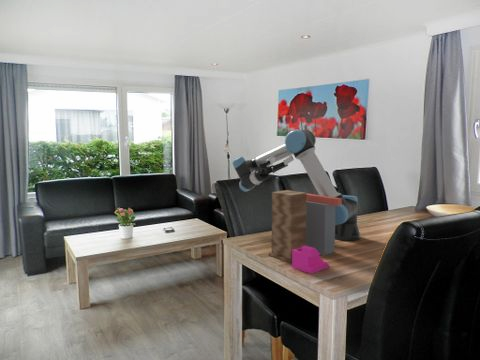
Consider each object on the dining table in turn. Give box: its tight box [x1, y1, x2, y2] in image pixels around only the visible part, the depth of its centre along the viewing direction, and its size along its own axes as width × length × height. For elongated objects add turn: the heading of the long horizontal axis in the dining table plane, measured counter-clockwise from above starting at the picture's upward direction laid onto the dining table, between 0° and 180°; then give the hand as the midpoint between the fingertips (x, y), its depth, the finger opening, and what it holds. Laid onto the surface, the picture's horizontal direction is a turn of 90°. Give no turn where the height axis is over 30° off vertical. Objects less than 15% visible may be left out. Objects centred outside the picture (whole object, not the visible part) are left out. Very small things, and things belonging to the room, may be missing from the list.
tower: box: [268, 189, 308, 264], centre depth 180 cm, size 14×12×30 cm
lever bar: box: [306, 193, 342, 206], centre depth 188 cm, size 26×3×3 cm, turn 41°
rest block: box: [306, 201, 336, 256], centre depth 188 cm, size 12×8×24 cm, turn 41°
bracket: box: [291, 246, 330, 274], centre depth 167 cm, size 12×10×10 cm
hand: (283, 158), depth 205 cm, fingers open, 13 cm apart
